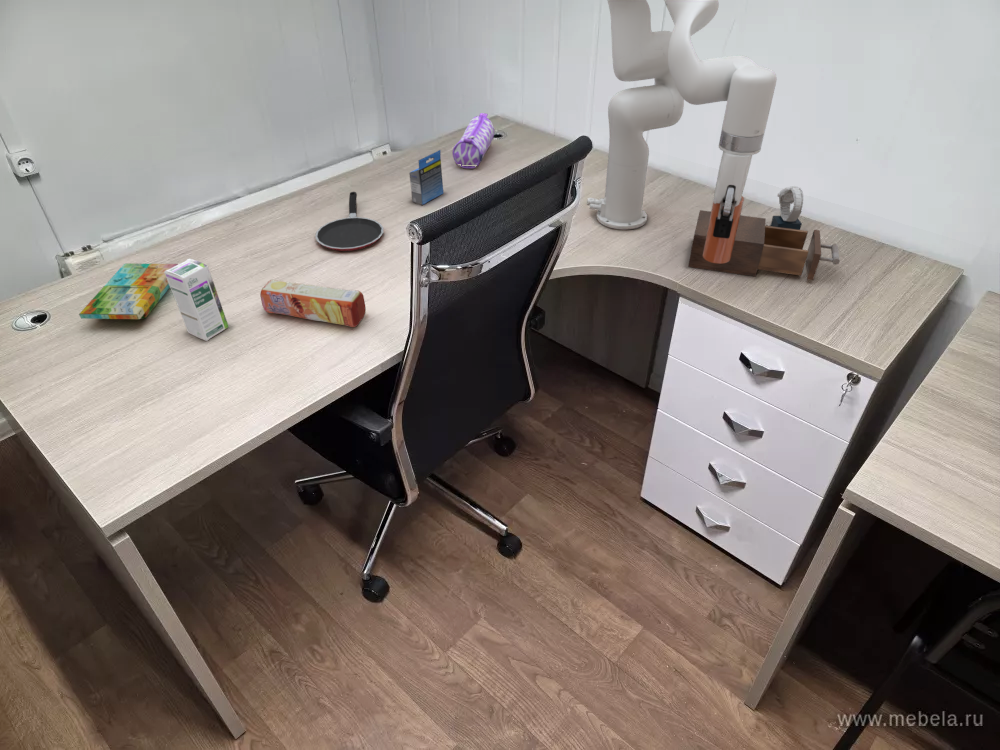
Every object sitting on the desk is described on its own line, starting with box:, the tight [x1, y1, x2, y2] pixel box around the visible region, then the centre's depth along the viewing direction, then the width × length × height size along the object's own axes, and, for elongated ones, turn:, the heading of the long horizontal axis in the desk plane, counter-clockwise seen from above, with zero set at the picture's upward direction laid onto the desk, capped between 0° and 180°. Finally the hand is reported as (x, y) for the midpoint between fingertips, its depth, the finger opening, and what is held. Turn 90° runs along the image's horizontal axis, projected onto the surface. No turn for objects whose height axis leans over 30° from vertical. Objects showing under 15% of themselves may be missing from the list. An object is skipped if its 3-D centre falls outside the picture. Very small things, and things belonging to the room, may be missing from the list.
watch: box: [770, 185, 804, 230], centre depth 162 cm, size 6×8×11 cm
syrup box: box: [164, 258, 230, 342], centre depth 131 cm, size 6×6×14 cm
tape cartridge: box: [408, 149, 444, 206], centre depth 179 cm, size 9×4×12 cm, turn 144°
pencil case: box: [452, 112, 495, 170], centre depth 202 cm, size 22×9×10 cm, turn 171°
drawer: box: [757, 225, 840, 281], centre depth 149 cm, size 18×11×6 cm, turn 72°
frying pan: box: [314, 191, 384, 252], centre depth 169 cm, size 28×16×3 cm, turn 8°
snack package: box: [259, 279, 367, 328], centre depth 137 cm, size 21×7×7 cm, turn 73°
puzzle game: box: [78, 262, 179, 320], centre depth 142 cm, size 12×5×20 cm
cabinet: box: [687, 209, 767, 278], centre depth 153 cm, size 15×13×8 cm
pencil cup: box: [703, 195, 745, 264], centre depth 136 cm, size 6×6×13 cm
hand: (722, 228), depth 136 cm, fingers closed on pencil cup, 5 cm apart
